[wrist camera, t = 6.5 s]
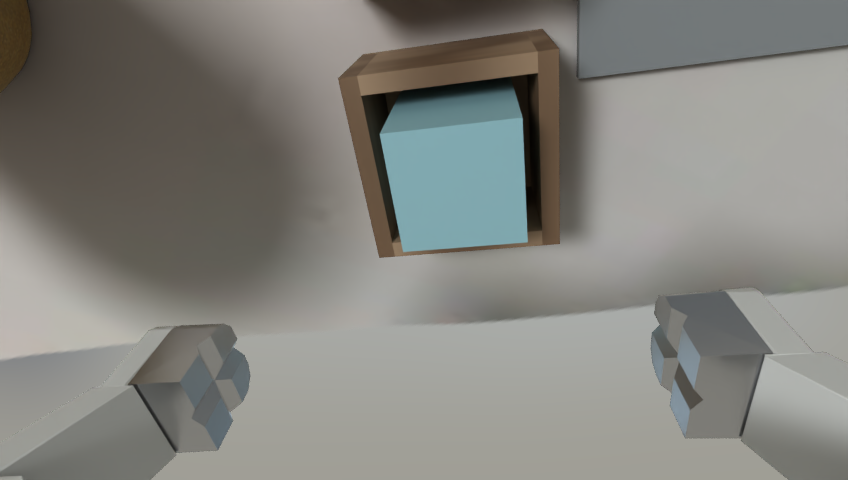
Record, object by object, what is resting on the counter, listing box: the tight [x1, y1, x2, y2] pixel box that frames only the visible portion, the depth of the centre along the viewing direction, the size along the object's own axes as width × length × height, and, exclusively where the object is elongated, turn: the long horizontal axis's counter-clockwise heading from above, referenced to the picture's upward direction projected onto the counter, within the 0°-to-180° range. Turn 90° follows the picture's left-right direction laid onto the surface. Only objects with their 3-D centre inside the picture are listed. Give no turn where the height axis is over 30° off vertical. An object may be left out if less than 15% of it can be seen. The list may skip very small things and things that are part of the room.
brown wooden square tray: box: [338, 29, 560, 258], centre depth 18 cm, size 7×7×4 cm
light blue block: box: [380, 77, 528, 252], centre depth 17 cm, size 4×4×6 cm
